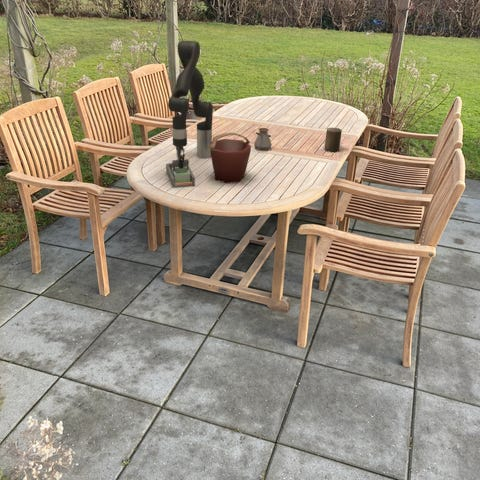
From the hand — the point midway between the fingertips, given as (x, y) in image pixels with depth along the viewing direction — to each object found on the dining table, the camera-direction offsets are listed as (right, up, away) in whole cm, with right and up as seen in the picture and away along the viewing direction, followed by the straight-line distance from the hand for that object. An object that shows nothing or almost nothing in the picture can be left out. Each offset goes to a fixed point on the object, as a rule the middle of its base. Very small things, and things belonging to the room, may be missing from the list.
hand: (180, 167), depth 272 cm
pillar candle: (+92, +19, +57) cm, 110 cm away
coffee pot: (+45, +18, +51) cm, 70 cm away
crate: (0, -6, +3) cm, 7 cm away
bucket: (+26, -4, +11) cm, 28 cm away
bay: (-1, -5, +7) cm, 9 cm away
